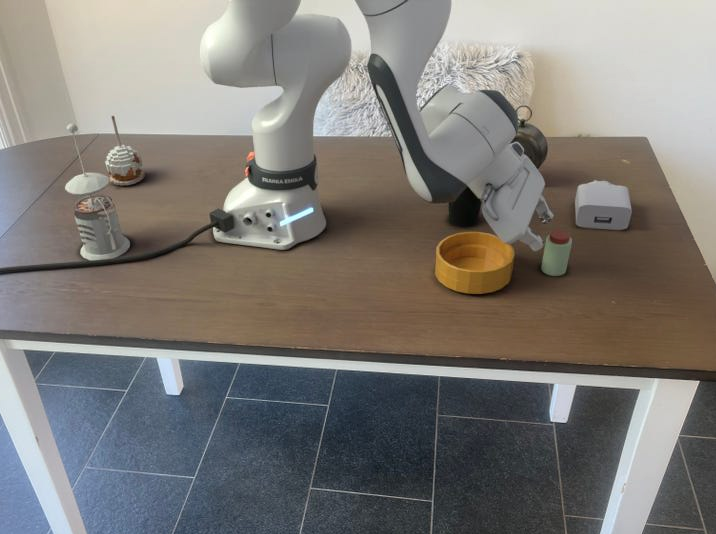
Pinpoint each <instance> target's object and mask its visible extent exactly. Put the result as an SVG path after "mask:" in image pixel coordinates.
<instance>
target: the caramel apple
mask: <svg viewBox="0 0 716 534" xmlns="http://www.w3.org/2000/svg"><path fill="white" fill-rule="evenodd" d="M110 116H111V121H112V126H113V129H114V134H115V137H116V142H117V146H114V147H113V149H110V150H109V152H108V153H107V155H106V160H105V161H104V163H105V166H106V170H107V173H108V175H110V176H109V177H108V178H109V182H110V183H111V184H114V185H117V186H130V185H134V184H135V185H136V184H137V183H139V182H141V181H142V180H143V179H144V177H145V176H146V173H145V172H144V170H143V167H142V166H143V160H142V157H141V155H140V154H138V151H137V150H134V148H133V147H131V146H130V145H128V146H126V145H125V144H122V142H121V139H120V135H119V131H118V126H117V122H116V117H115V114H112V115H110Z"/></svg>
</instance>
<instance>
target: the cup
mask: <svg viewBox="0 0 716 534" xmlns="http://www.w3.org/2000/svg"><path fill="white" fill-rule="evenodd" d="M447 205H448V222H449V224H451V225H452V226H454V227H458V228H471V227H473V226H476V225H477V224H478V222H479V218H480V213H481V209H482V202H481V201H480V199H479V198H478V197H477V196H476V195H475V194H474V193H473V192H472V190H471V189H470V188H469V187H467V188H466V189H465V190H464V191H463V192H462V193H461V194H460V196H459V197H458V198H457V199H456V200H455V201H454V202H449V203H447Z"/></svg>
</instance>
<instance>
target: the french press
mask: <svg viewBox="0 0 716 534" xmlns="http://www.w3.org/2000/svg"><path fill="white" fill-rule="evenodd" d="M78 128H79V127H78V126H77V125H76V124H75V123H69V124H67V125H66V132H67V133H70V134H71V133H72V136H73V140H74V144H75V148H76V150H77V151H76V152H77V154H78V158H79V161H80V166H81V169H82V172H83V173H81V174H78V175H74V177H72V178H71V179H70V180H69V181H68V182H67V183H66V184H65V187H64V190H65V191H66V192H67V193H68V194H69V195H73V196H79V197H80V196H82V198H80V199H78V200H77V201H75V203H74V204H73V209H74V214H73V215H74V220H75V222H76V225H78V226H77V229H78V231H80V232H79V235H80V237H81V242H82V243H83V244H82V247H80V252H79V253H80V255H81V257H82V258H83V259H86V260H87V261H91V260H101V259H110V258H119V257H120V256H122V255H123V254H125V253H126V252H127V251H128V250H129V249H130V246H131V243H130V242H131V241H130V240H129V239H128V238H127V237H125V236H124V234H123V231H122V228H121V224H120V219H119V215H118V212H117V209H116V205H115V203H113V198H111V196H109V195H107V194H99V193H100V192H102V191H104V190H105V189H106V187H107V186H108V185H109V183H110V179H109V177H108V176H107V175H106V174H102V173H99V172H86V171H85V167H84V164H83V160H82V156H81V153H80V150H79V147H78V143H77V139H76V136H75V133H76V132H77V131H78V130H79V129H78ZM97 193H98V194H97ZM83 196H84V197H83ZM110 210H113V211H111V212H108V211H110ZM101 212H105V213H101ZM105 218H107V219H105ZM107 224H108V225H107ZM108 229H109V230H108Z"/></svg>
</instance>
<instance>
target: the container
mask: <svg viewBox="0 0 716 534" xmlns="http://www.w3.org/2000/svg"><path fill="white" fill-rule="evenodd" d="M572 243H573V239H572V237H571V234H570V233H569V231H566V230H563V229H555V230H552V231H551V232H550V233H549V235H547V236H546V239H545V242H544V249H543V254H542V260H541V267H540V269H541V271H542V273H543V274H545V275H548V276H552V277H559V276H563V275H564V274H565V273H566V272H567V268H568V263H569V259H570V255H571V249H572Z"/></svg>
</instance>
